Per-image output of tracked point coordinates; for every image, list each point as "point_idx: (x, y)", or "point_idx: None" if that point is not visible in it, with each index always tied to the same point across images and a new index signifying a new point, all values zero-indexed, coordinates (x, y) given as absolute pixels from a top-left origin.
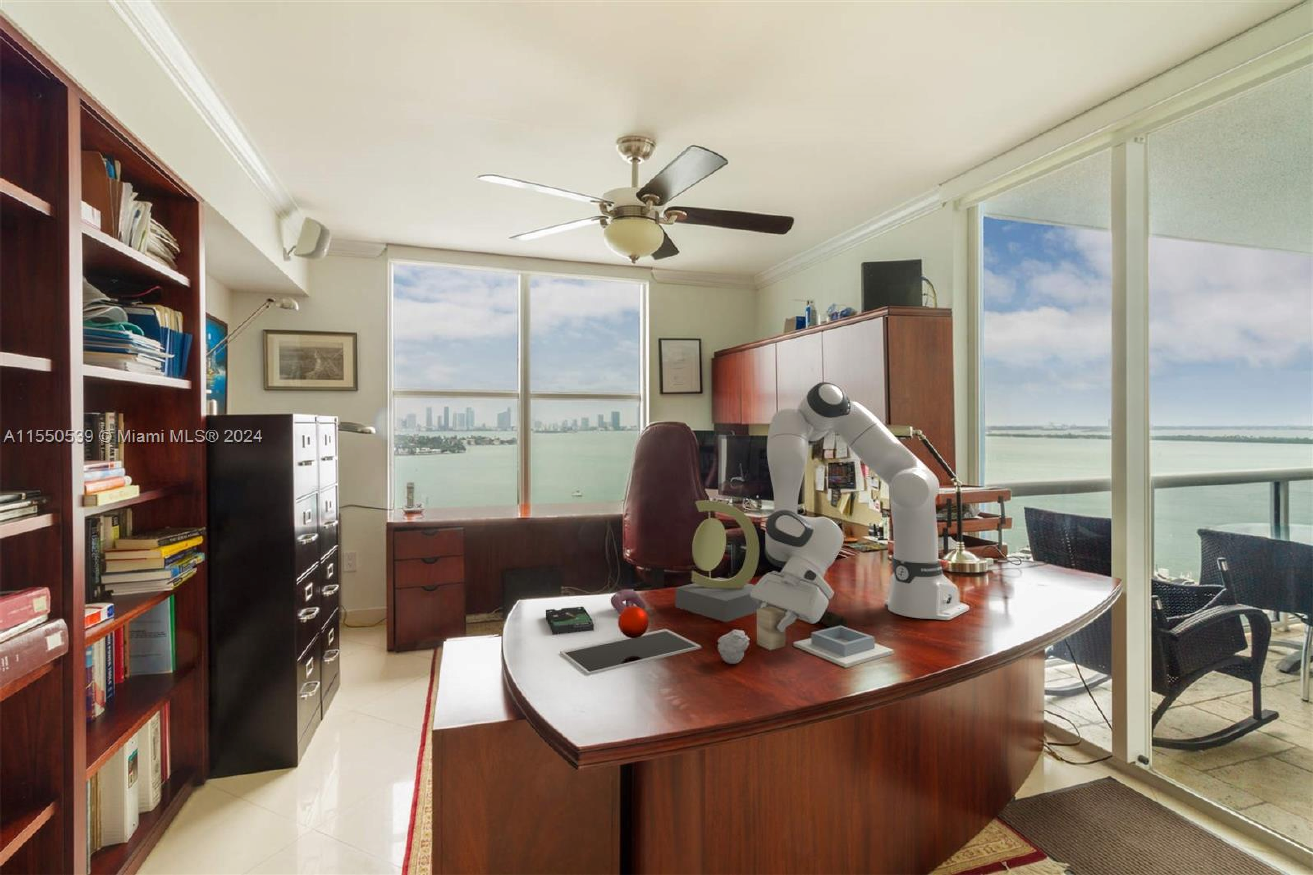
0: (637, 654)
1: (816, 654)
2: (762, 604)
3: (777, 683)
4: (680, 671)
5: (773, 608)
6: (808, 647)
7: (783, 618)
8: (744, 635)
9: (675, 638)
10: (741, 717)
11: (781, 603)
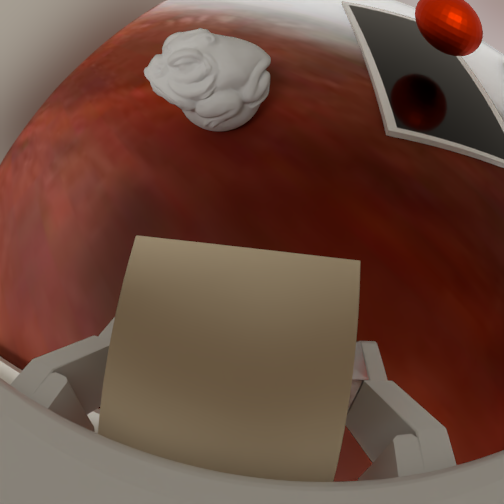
0: (392, 46)
1: None
2: (442, 448)
3: (71, 138)
4: (273, 44)
5: (247, 447)
6: (88, 417)
7: (86, 354)
8: (166, 62)
9: (469, 138)
10: (90, 57)
11: (88, 464)
